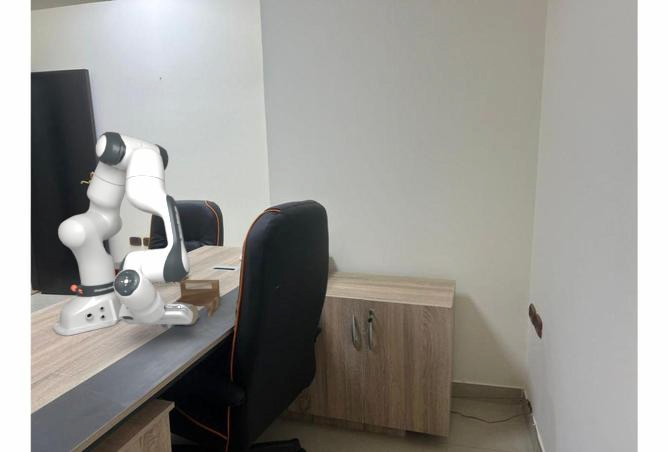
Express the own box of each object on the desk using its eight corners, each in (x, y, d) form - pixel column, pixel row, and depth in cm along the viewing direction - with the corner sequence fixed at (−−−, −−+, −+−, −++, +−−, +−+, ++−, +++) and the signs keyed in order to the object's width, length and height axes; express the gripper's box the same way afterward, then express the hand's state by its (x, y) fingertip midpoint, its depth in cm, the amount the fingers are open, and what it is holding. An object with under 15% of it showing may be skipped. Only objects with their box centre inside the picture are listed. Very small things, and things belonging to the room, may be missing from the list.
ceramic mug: (188, 329, 151) (186, 307, 150) (167, 327, 153) (165, 305, 152) (205, 318, 161) (204, 297, 160) (186, 316, 163) (184, 296, 162)
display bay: (210, 316, 162) (208, 290, 160) (170, 317, 162) (168, 290, 161) (220, 304, 174) (218, 279, 172) (183, 304, 175) (181, 280, 173)
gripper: (186, 296, 132) (200, 315, 143) (119, 297, 133) (138, 316, 145) (182, 316, 129) (197, 334, 140) (113, 317, 130) (133, 334, 141)
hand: (166, 325), depth 142 cm, fingers closed
